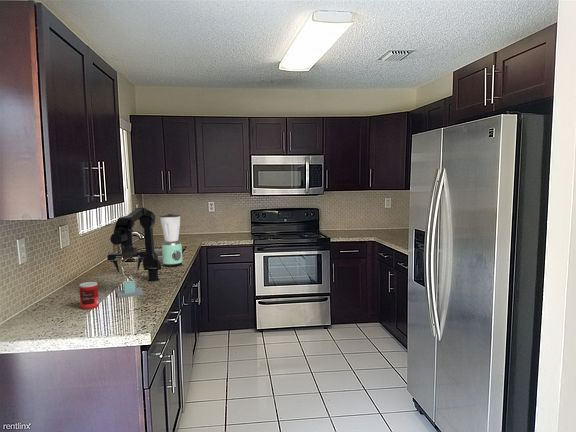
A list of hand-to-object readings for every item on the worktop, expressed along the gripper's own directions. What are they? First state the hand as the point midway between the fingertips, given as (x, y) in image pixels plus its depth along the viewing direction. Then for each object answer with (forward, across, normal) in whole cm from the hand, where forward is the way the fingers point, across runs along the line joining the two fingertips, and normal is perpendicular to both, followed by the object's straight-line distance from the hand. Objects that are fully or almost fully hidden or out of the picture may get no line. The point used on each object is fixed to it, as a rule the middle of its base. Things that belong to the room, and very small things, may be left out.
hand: (128, 271), depth 208 cm
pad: (+11, 0, 0) cm, 11 cm away
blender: (+11, +30, +62) cm, 70 cm away
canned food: (+12, -18, -15) cm, 26 cm away
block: (+10, 0, 0) cm, 10 cm away
